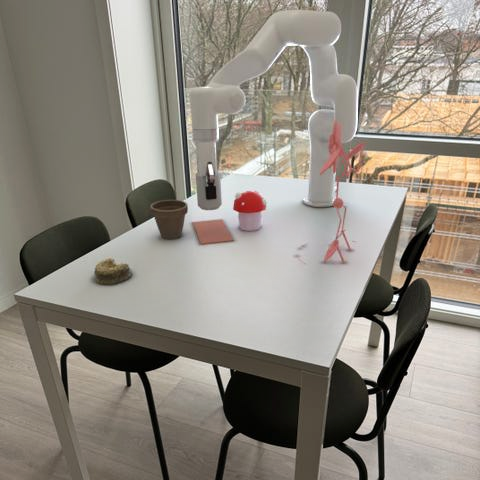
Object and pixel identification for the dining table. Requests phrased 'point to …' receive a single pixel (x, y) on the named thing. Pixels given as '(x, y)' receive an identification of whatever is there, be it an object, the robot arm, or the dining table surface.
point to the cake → (111, 272)
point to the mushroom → (249, 209)
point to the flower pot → (169, 217)
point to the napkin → (212, 231)
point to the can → (201, 193)
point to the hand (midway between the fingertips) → (209, 195)
